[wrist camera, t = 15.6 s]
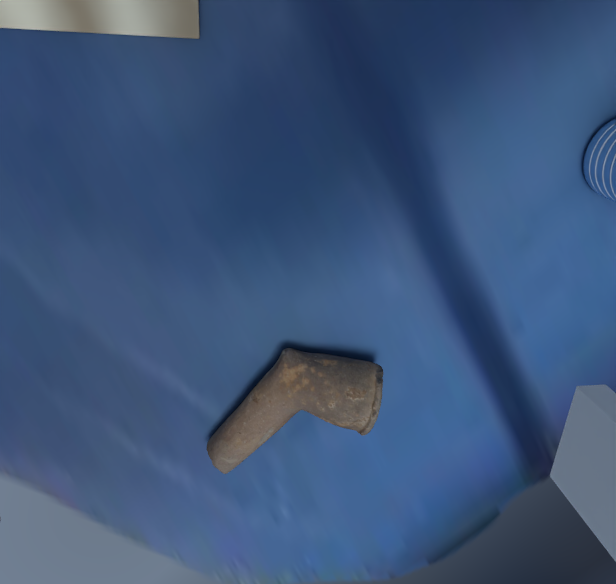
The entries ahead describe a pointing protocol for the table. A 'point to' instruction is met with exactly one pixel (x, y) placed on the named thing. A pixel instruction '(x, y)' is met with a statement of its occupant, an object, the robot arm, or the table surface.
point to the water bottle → (602, 162)
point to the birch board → (105, 16)
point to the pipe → (299, 402)
